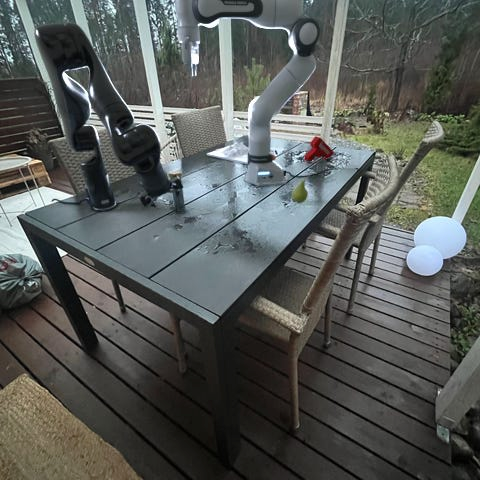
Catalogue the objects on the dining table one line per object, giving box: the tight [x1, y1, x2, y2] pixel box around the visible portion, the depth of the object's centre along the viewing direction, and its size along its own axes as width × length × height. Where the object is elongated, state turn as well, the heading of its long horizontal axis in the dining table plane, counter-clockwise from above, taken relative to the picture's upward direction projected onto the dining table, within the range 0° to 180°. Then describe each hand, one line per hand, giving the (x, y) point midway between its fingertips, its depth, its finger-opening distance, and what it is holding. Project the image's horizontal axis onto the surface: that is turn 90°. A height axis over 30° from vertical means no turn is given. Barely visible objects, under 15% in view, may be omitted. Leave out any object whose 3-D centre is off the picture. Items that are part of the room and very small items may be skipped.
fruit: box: [291, 174, 311, 204], centre depth 118 cm, size 7×8×12 cm
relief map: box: [206, 141, 272, 165], centre depth 185 cm, size 27×35×5 cm
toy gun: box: [303, 135, 335, 164], centre depth 171 cm, size 18×4×15 cm
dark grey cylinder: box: [169, 176, 186, 215], centre depth 110 cm, size 4×4×17 cm
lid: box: [167, 169, 183, 179], centre depth 105 cm, size 5×5×2 cm
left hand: (165, 199), depth 94 cm, fingers open, 8 cm apart
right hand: (192, 76), depth 120 cm, fingers open, 8 cm apart
